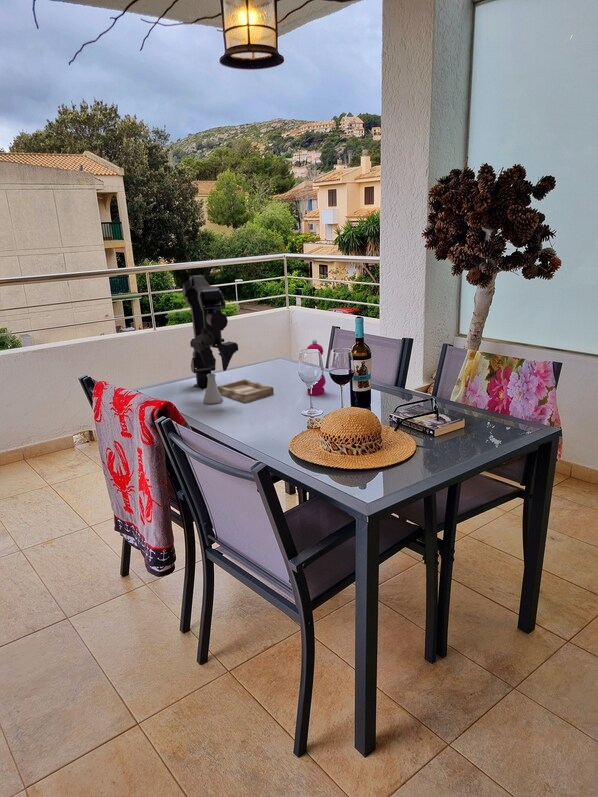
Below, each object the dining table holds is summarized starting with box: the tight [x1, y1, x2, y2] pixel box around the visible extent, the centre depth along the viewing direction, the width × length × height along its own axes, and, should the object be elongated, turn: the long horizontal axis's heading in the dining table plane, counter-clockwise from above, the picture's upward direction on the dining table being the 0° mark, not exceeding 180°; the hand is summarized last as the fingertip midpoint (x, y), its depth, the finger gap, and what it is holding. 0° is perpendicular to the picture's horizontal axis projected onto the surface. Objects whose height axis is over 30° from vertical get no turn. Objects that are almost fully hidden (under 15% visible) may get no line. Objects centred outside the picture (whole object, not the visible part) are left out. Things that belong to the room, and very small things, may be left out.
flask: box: [202, 373, 224, 405], centre depth 198 cm, size 7×7×10 cm
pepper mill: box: [305, 339, 326, 397], centre depth 202 cm, size 7×7×20 cm
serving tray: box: [217, 378, 275, 404], centre depth 206 cm, size 17×13×3 cm
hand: (215, 368), depth 196 cm, fingers open, 9 cm apart
